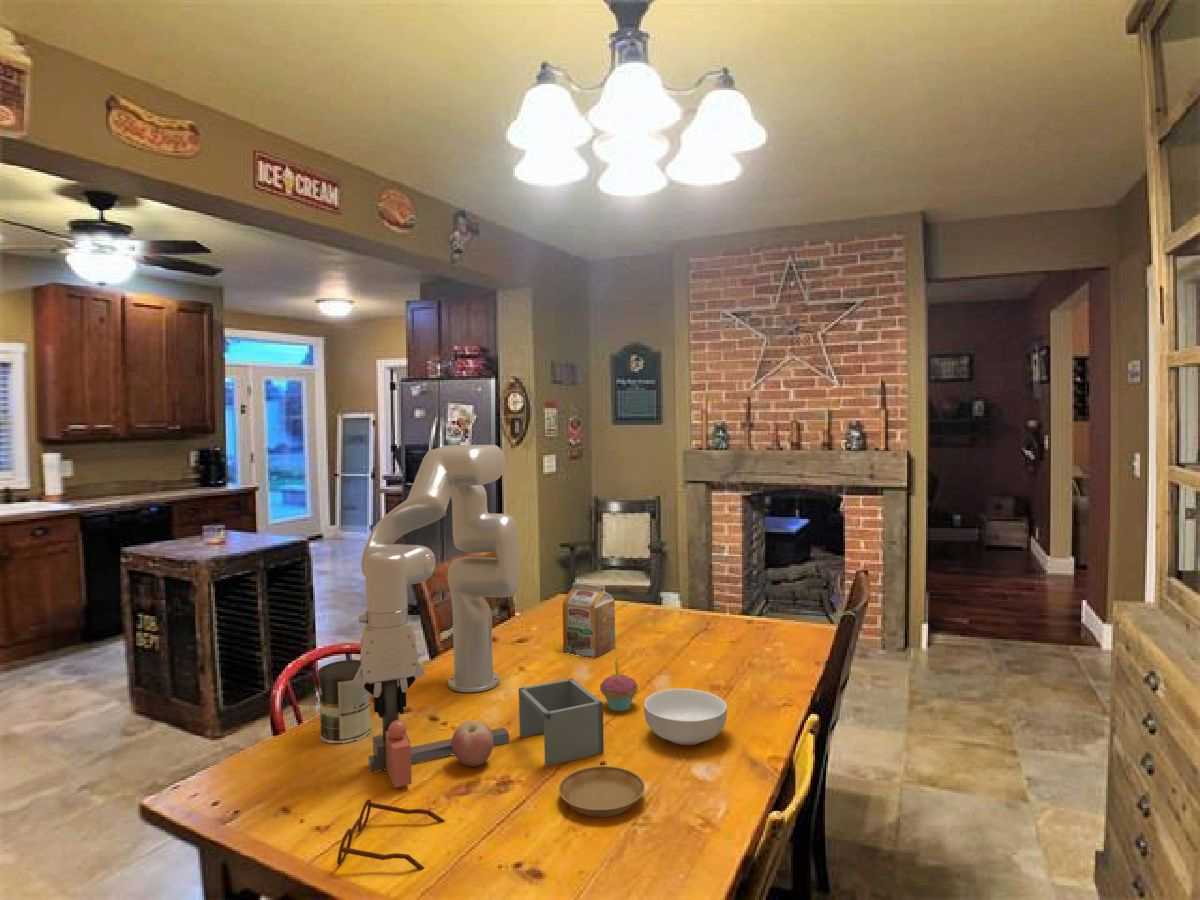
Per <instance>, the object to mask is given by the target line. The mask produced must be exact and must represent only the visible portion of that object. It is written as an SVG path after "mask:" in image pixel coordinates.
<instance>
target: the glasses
mask: <svg viewBox="0 0 1200 900" xmlns="http://www.w3.org/2000/svg"><path fill="white" fill-rule="evenodd" d="M366 809H367V810H366ZM371 809H378V810H384V811H387V812H388V811H389V812H394V813H399V814H406V815H411V814H413V815H414V814H420V815H428V816H429V817H430V818H432V819H433V820H435V821H437V822H439V823H445V822H446V820H445V819H444V818H442V817H441V816H439V815H437V814H436V813H434V812H433V811H431V810H430V809H422V808H415V809H414V808H413V809H412V808H411V809H408V808H402V807H397V806H391V805H386V804H383V803H382V804H381V803H375V802H372V800H371V799H370V798H369V799H366V800H365V802H364V805H363V807H362V809H361V811H360V814H359V817H358V818H357V819H356V821H355V823H354V824H353V826H352V828H348V829H347V830H346V831H345V833H344V835H343V837H342V840H341V841H340V845H339V849H338V854H337V859H336V860H337V861H336V862H337V865H339V866H342V865H341V863H342V862H343V860H344V859H345V857H346V855H347V856H348V855H353V856H354V855H355V856H359V857H364V858H370V859H375V860H381V861H386V860H391V859H400V860H401V859H402V860H403V859H404V860H406V861H407V862H409V864H412V865H413V866H414V867H415V868H416V869H417V870H423V869H424V870H425V866H424V865H422V864H421V863H420V862H418V860H416V859H415V858H413V857H412V856H411V855H410V854H406V853H399V852H398V853H397V852H396V853H395V852H394V853H388V854H381V853H377V852H371V851H366V850H362V849H361V850H360V849H355V848H351V844H352V839H353V835H354V832H355V831H356V829H357V832H358V833H362V832H363V831H364V829H365V828H366V826H365V825H367V824H366V823H368V820H369V817H370V813H371ZM365 812H366V814H365ZM364 815H365V819H364V821H363V818H364ZM364 827H365V828H364ZM363 828H364V829H363ZM362 830H363V831H362ZM361 831H362V832H361ZM347 838H348V840H347ZM346 840H347V844H346V847H345V843H346ZM343 853H344V854H343ZM342 854H343V855H342ZM346 858H347V857H346ZM345 860H346V859H345ZM345 860H344V861H345ZM343 863H344V862H343ZM343 863H342V864H343Z"/></svg>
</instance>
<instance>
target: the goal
mask: <svg viewBox="0 0 1200 900" xmlns="http://www.w3.org/2000/svg"><path fill="white" fill-rule="evenodd" d="M518 711H519V713H518V719H519V720H518V721H519V737H520V738H527V737H530V736H535V735H539V734H540V735H541V734H543V740H544V741H543V745H544V748H543V749H544V752H543V753H544V766H545V767H550V766H556V765H559V764H562V763H567V762H571V761H575V759H576V760H580V759H583V757H584V758H589V757H592V756H596V755H599V754H600V753H601V754H604V753H605V751H604V750H605V749H604V743H605V742H604V702H603V701H602V700H600V699H599V698H597V697H596V696H595V695H594V694H593V693H591V692H590V691H589V690H587V689H586V687H584V686H582V684H580V683H578V681H576V680H575V679H574V678H571V677H570V678H567V679H562V680H555V681H551V682H545V683H540V684H534V685H529V686H524V687H519V688H518Z"/></svg>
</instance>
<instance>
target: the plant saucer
mask: <svg viewBox="0 0 1200 900" xmlns="http://www.w3.org/2000/svg"><path fill="white" fill-rule="evenodd" d="M645 789H646V788H645V783H644V780H643V779H642V777H640V776H639V775H638V774H637V773H635V772H633V771H631V770H629V769H624V768H623V767H617V766H608V765H605V766H604V765H598V766H590V767H585V768H582V769H578V770H576V771H573V772H571V773H569V774H568V775H567V776H564V778H563V779H562V780H561V782H560V783H559V786H558V792H559V795H560V797H561V798H562V800H563V801H564V802H565V803H566V804H567V805H568V806H569V807H570V808H571V809H573V810H574V811H576V812H577V813H580V814H582V815H585V816H589V817H593V818H606V817H607V818H609V817H613V816H619V815H620V814H623V813H625V812H627V811H628V810H630V809H631V808H632V807H633V806H634V805H635V804H636V803H637V802H638V801H640V799H641V797H642V796H643V794H644V793H645Z"/></svg>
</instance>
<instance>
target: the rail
mask: <svg viewBox="0 0 1200 900" xmlns="http://www.w3.org/2000/svg"><path fill="white" fill-rule="evenodd" d="M491 731H492V734H493V747H496V746H501V745H506V744H508V743H510V733H509V731H508V730H507V729H506V727H500V728H495V729H491ZM451 754H454V752H453V749H452V738H449V739H444V740H443V739H442V740H439V741H435V742H429V743H424V744H419V745H415V746H411V765H414V764H413V763H415V764H418V763H417V762H420V763H422V762H421V761H424V762H427V761H426V760H429V761H431V760H430V759H433V760H435V759H434V758H438V759H440V758H439V757H442V758H444V757H443V756H447V755H451ZM451 756H452V755H451ZM447 757H448V756H447ZM368 768H369V771H370V770H371V771H370V773H371V772H375V771H379V770H384V769H387V767H386V762H381V763H377V760H376V758H375V755H374V754H373V755H368ZM384 771H385V770H384ZM379 772H380V771H379ZM375 773H376V772H375Z"/></svg>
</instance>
